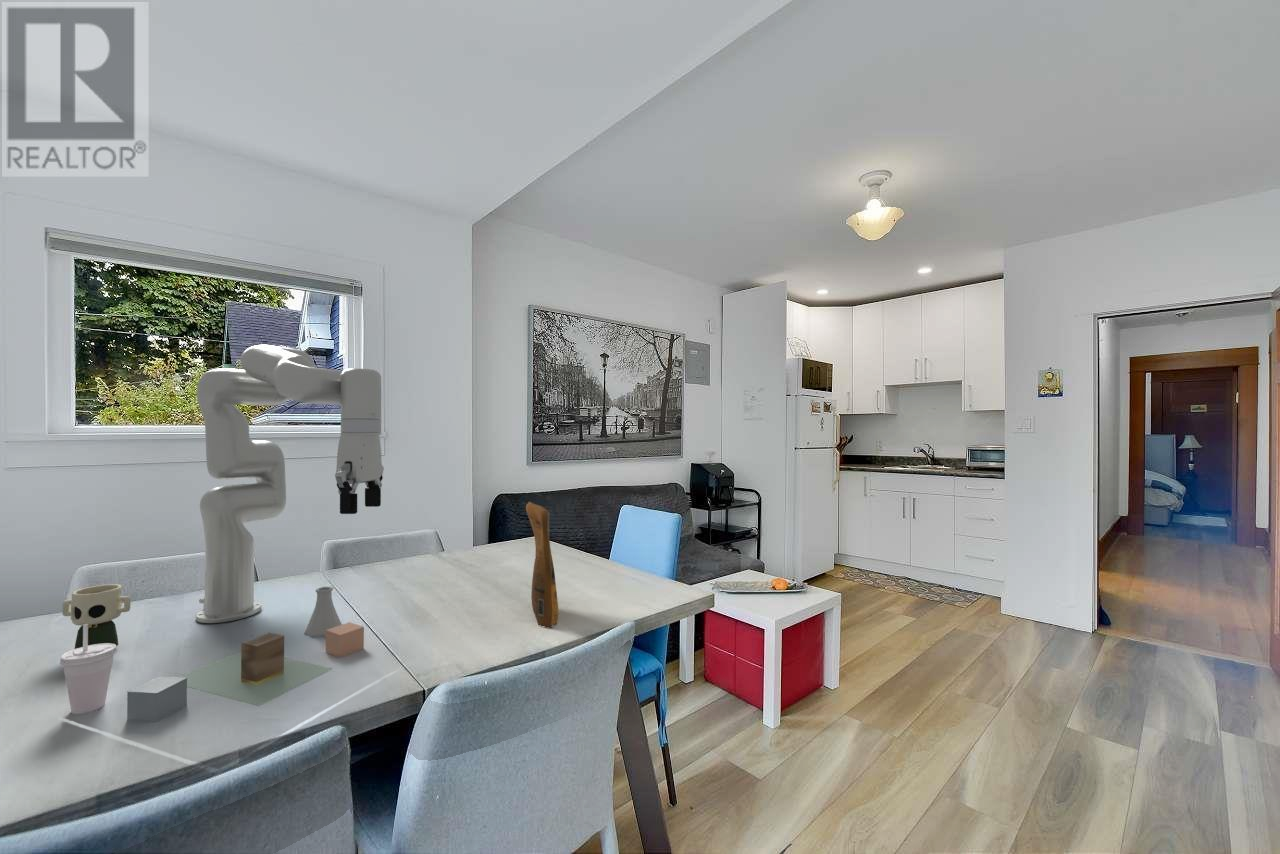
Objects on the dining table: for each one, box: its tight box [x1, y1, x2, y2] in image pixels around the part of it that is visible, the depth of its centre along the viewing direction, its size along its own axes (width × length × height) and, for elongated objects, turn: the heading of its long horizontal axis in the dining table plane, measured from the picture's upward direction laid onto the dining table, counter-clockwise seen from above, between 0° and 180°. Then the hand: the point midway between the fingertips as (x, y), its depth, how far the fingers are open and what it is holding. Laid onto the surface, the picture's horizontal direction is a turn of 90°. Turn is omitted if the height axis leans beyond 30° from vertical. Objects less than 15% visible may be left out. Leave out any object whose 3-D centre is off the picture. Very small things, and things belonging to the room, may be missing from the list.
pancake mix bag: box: [525, 501, 559, 629], centre depth 129 cm, size 7×19×28 cm, turn 19°
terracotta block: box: [325, 621, 365, 658], centre depth 108 cm, size 5×5×5 cm
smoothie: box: [59, 624, 117, 715], centre depth 86 cm, size 6×6×14 cm
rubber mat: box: [175, 651, 333, 707], centre depth 97 cm, size 24×14×1 cm, turn 71°
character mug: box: [62, 583, 132, 649], centre depth 106 cm, size 11×7×13 cm, turn 107°
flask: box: [303, 586, 343, 638], centre depth 118 cm, size 7×7×10 cm
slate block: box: [126, 675, 188, 723], centre depth 84 cm, size 5×5×5 cm
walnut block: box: [240, 632, 285, 685], centre depth 96 cm, size 4×5×7 cm
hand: (361, 509), depth 110 cm, fingers open, 9 cm apart
